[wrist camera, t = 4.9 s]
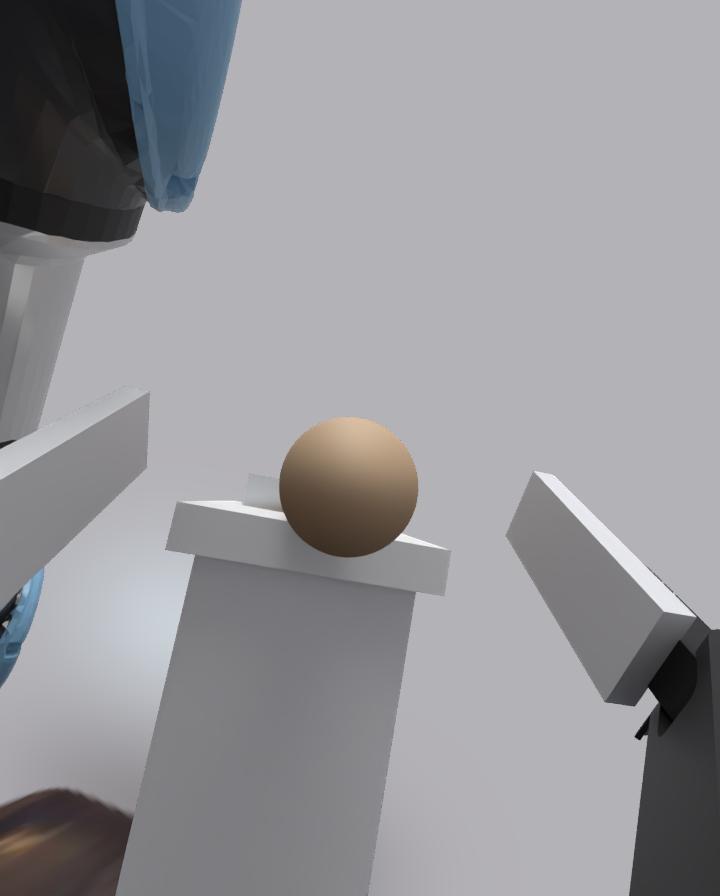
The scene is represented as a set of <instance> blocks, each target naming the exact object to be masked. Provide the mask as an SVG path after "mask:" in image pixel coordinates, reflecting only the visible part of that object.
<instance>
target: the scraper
mask: <svg viewBox="0 0 720 896" xmlns="http://www.w3.org/2000/svg"><path fill="white" fill-rule="evenodd" d="M417 497H418V478H417V472H416V469H415V465H414V462H413V460H412V458H411V456H410V454H409V452H408V450H407V448H406V447H405V446H404V444H403V443H402V442H401V441H400V440H399V439H398V438H397V437H396V436H395V435H394V434H393V433H392V432H391V431H389V430H388V429H387V428H385V427H383V426H381V425H379V424H377V423H375V422H373V421H370V420H366V419H362V418H355V417H343V418H335V419H331V420H327V421H325V422H322V423H320V424H318V425H316V426H314V427H312V428H311V429H309V430H308V431H307V432H305V433H304V434H303V435H302V436H301V437H300V438H299V439H298V440H297V441H296V442H295V443H294V445H293V446H292V447H291V449H290V451H289V452H288V454H287V456H286V458H285V460H284V463H283V466H282V469H281V473H280V479H276V478H271V477H266V476H260V475H255V474H249V476H248V481H247V485H246V490H245V495H244V499H243V503H242V505H245V506H250V507H256V508H261V509H267V510H272V511H278V512H283V513H284V514H285V517H286V519H287V521H288V522H289V524H290V526H291V527H292V529H293V530H294V531H295V533H296V534H297V535H298V536H299V537H300V538H301V539H302V540H303V541H304V542H306V543H307V544H308V545H310V546H311V547H313V548H315V549H316V550H318V551H320V552H323V553H325V554H328V555H332V556H336V557H345V558H349V557H360V556H366V555H369V554H372V553H375V552H377V551H379V550H381V549H383V548H384V547H386V546H388V545H389V544H390V543H392V542H393V541H394V540H395V539H396V538H397V537H398V536H399V535H400V534H401V533H402V532H403V531H404V529H405V528H406V526H407V525H408V523H409V521H410V519H411V517H412V515H413V512H414V509H415V507H416V502H417Z"/></svg>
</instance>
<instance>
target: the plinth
mask: <svg viewBox="0 0 720 896" xmlns="http://www.w3.org/2000/svg"><path fill="white" fill-rule="evenodd" d="M242 503H243V502H238V501H233V500H224V501H177V504H176V508H175V512H174V516H173V520H172V524H171V528H170V532H169V536H168V540H167V545H166V549H165V550H169V551H175V552H181V553H187V554H193V555H195V558H194V562H193V567H192V571H191V575H190V579H189V583H188V588H187V592H186V596H185V600H184V605H183V609H182V613H181V618H180V622H179V626H178V630H177V635H176V639H175V643H174V647H173V652H172V656H171V660H170V664H169V669H168V673H167V677H166V682H165V686H164V690H163V694H162V699H161V703H160V707H159V711H158V715H157V720H156V724H155V728H154V733H153V737H152V741H151V746H150V750H149V754H148V758H147V763H146V767H145V771H144V775H143V780H142V784H141V788H140V792H139V797H138V801H137V805H136V809H135V813H134V818H133V822H132V826H131V831H130V835H129V839H128V843H127V848H126V852H125V856H124V860H123V865H122V869H121V873H120V877H119V882H118V886H117V890H116V894H115V896H368V890H369V884H370V878H371V871H372V865H373V859H374V853H375V846H376V840H377V833H378V827H379V821H380V814H381V808H382V802H383V796H384V789H385V783H386V776H387V771H388V764H389V758H390V751H391V745H392V739H393V732H394V726H395V719H396V714H397V707H398V701H399V695H400V688H401V682H402V676H403V669H404V663H405V657H406V650H407V644H408V638H409V631H410V625H411V619H412V612H413V606H414V600H415V594H416V592H422V593H428V594H434V595H440V596H444V594H445V587H446V581H447V574H448V568H449V561H450V554H451V550H448V549H445V548H442V547H439V546H437V545H434V544H431V543H428V542H425V541H422V540H419V539H416V538H414V537H410V536H408V535H405V534H402V533H401V534H400V535H399V536H398V537H397V538H396V539H395V540H394V541H393V542H392V543H390V544H389V545H388V546H386V547H384V548H383V549H381V550H379V551H377V552H375V553H372V554H369V555H366V556H360V557H349V558H345V557H336V556H332V555H328V554H325V553H323V552H320V551H318V550H316V549H315V548H313V547H311V546H310V545H308V544H307V543H306V542H304V541H303V540H302V539H301V538H300V537H299V536H298V535H297V534H296V533H295V531H294V530H293V529H292V527H291V526H290V524H289V522H288V521H287V519H286V517H285V514H284V513H283V512H278V511H272V510H267V509H261V508H256V507H250V506H245V505H242Z"/></svg>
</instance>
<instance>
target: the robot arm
mask: <svg viewBox="0 0 720 896" xmlns="http://www.w3.org/2000/svg"><path fill="white" fill-rule="evenodd" d="M241 3H242V0H0V688H1V686H2V685H3V684H4V682H5V681H6V679H7V678H8V676H9V674H10V673H11V671H12V669H13V667H14V665H15V663H16V661H17V658H18V656H19V654H20V650H21V644H22V643H23V642H24V640H25V638H26V636H27V634H28V632H29V629H30V626H31V624H32V621H33V618H34V615H35V611H36V608H37V605H38V601H39V597H40V593H41V589H42V582H43V577H44V566H45V565H46V564H47V563H48V562H49V561H50V560H51V559H52V558H54V557H55V556H56V555H57V553H59V552H60V551H61V550H62V549H63V548H64V547H65V546H66V545H67V544H68V543H69V542H70V541H71V540H72V539H73V538H74V537H75V536H76V535H77V534H78V533H79V532H81V530H83V529H84V528H85V527H86V526H87V525H88V524H89V523H90V522H91V521H92V520H93V519H94V518H95V517H96V516H97V515H98V514H99V513H100V512H101V511H102V510H103V509H104V508H105V507H106V506H108V504H110V503H111V502H112V501H113V500H114V499H115V498H116V497H117V496H118V495H119V494H120V493H121V492H122V491H123V490H124V489H125V488H126V487H127V486H128V485H129V484H130V483H131V482H132V481H133V480H135V478H137V477H138V476H139V475H140V474H141V473H142V472H143V471H144V470H145V469H146V468H147V446H148V445H147V444H148V420H149V396H150V392H149V391H146V390H141V389H136V388H131V387H127V386H124V387H122V388H120V389H118V390H117V391H114V392H112V393H110V394H108V395H106V396H104V397H102V398H100V399H98V400H97V401H94V402H92V403H90V404H89V405H86V406H84V407H83V408H81V409H79V410H77V411H75V412H73V413H71V414H69V415H67V416H65V417H63V418H61V419H59V420H57V421H55V422H53V423H51V424H49V425H47V426H45V427H43V428H41V429H39V430H37V429H38V425H39V422H40V418H41V414H42V411H43V407H44V403H45V400H46V396H47V393H48V389H49V385H50V382H51V378H52V374H53V371H54V367H55V363H56V360H57V356H58V352H59V349H60V345H61V342H62V338H63V334H64V331H65V327H66V324H67V320H68V316H69V312H70V309H71V305H72V302H73V298H74V295H75V291H76V287H77V283H78V280H79V276H80V273H81V269H82V266H83V262H84V258H85V257H86V256H88V255H92V254H95V253H99V252H103V251H107V250H110V249H114V248H118V247H121V246H124V245H126V244H128V243H129V242H131V241H132V238H133V237H134V235H135V233H136V231H137V226H138V223H139V220H140V217H141V214H142V211H143V208H144V205H145V203H146V201H148V202H149V203H150V206H151V207H152V208H154V209H156V210H157V211H160V212H162V211H165V210H167V211H172V212H177V213H179V212H184V211H185V210H186V209H187V208H188V206H189V204H190V203H191V201H192V199H193V196H194V191H195V187H196V184H197V181H198V177H199V174H200V172H201V169H202V166H203V163H204V161H205V158H206V156H207V152H208V149H209V145H210V141H211V137H212V133H213V130H214V125H215V122H216V118H217V114H218V109H219V105H220V101H221V96H222V93H223V89H224V84H225V80H226V75H227V71H228V66H229V62H230V57H231V53H232V48H233V43H234V38H235V33H236V28H237V23H238V18H239V13H240V8H241ZM506 537H507V538H508V540H509V542H510V543H511V545H512V547H513V549H514V550H515V552H516V554H517V555H518V557H519V559H520V560H521V562H522V564H523V565H524V567H525V569H526V570H527V572H528V574H529V575H530V577H531V579H532V580H533V582H534V584H535V585H536V587H537V589H538V591H539V592H540V594H541V595H542V597H543V599H544V601H545V602H546V604H547V606H548V607H549V609H550V611H551V612H552V614H553V616H554V618H555V619H556V621H557V622H558V624H559V626H560V628H561V629H562V631H563V632H564V634H565V636H566V637H567V639H568V641H569V643H570V644H571V646H572V648H573V649H574V651H575V653H576V655H577V656H578V658H579V660H580V661H581V663H582V665H583V666H584V668H585V670H586V671H587V673H588V675H589V676H590V678H591V680H592V681H593V683H594V685H595V687H596V688H597V690H598V692H599V693H600V695H601V697H602V698H603V700H604V702H607V703H614V704H622V705H628V706H636V704H637V703H638V701H639V700H640V698H641V697H642V696H643V694H644V693H645V691H646V690H647V688H649V689H650V690H651V692H652V693H653V694H654V696H655V697H656V699H657V700H658V702H659V703H658V704H657V705H656V707H655V708H654V710H653V711H652V712H651V714H650V715H649V716H648V718H647V719H646V721H645V722H644V723H643V725H642V727H640V729H639V730H638V732H637V733H636V735H635V738H637V739H638V740H641V738H642V737H643V735H648V739H647V748H646V757H645V766H644V774H643V783H642V791H641V799H640V808H639V816H638V825H637V834H636V842H635V850H634V860H633V868H632V876H631V885H630V893H629V896H720V630H719V629H716V630H711V629H710V628H709V627H708V626H707V625H706V624H705V623H704V622H703V621H702V620H701V619H700V618H699V617H698V616H697V615H696V614H695V613H694V612H693V611H692V610H691V609H690V608H689V607H688V606H687V605H686V604H685V603H684V602H683V601H682V600H681V599H680V598H679V597H678V596H676V595H674V594H673V591H672V590H670V588H668V587H667V586H666V585H665V584H663V583H662V581H661V580H660V579H659V578H658V577H657V576H656V575H655V574H654V573H653V572H652V571H651V570H650V569H649V568H648V567H647V566H645V565H644V564H643V563H642V562H641V561H640V560H639V559H638V558H637V557H636V556H635V555H634V554H633V553H632V552H631V551H630V550H629V549H628V548H627V547H626V546H625V545H623V543H621V541H620V540H619V539H618V538H617V537H615V535H613V534H612V532H610V531H609V530H608V529H607V528H606V527H605V526H604V525H603V524H602V523H601V522H600V521H599V520H598V519H597V518H596V517H595V516H594V515H593V514H592V513H591V512H590V511H589V510H588V509H587V508H586V507H585V506H584V505H583V504H582V503H581V502H580V501H579V500H578V499H577V498H576V497H575V496H574V495H573V494H572V493H571V492H570V491H569V490H568V489H567V488H566V487H565V486H564V485H563V484H562V483H561V482H560V481H559V480H558V479H557V478H556V477H555V476H554V475H551V474H546V473H541V472H536V471H533V473H532V475H531V478H530V480H529V482H528V485H527V487H526V489H525V492H524V494H523V496H522V499H521V501H520V503H519V506H518V508H517V510H516V513H515V515H514V517H513V520H512V522H511V524H510V527H509V529H508V531H507V534H506Z"/></svg>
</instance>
